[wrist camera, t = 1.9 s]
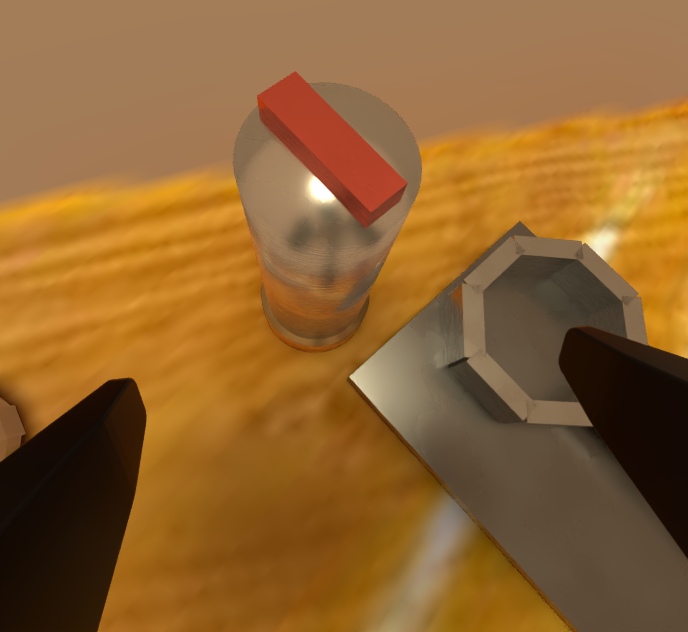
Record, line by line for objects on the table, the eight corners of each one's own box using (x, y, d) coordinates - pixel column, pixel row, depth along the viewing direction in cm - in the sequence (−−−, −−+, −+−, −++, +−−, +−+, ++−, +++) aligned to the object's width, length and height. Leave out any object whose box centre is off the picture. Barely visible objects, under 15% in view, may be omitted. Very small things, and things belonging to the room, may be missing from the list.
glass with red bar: (384, 307, 23) (487, 155, 10) (310, 373, 22) (322, 292, 9) (319, 238, 24) (339, 14, 11) (243, 298, 22) (165, 121, 10)
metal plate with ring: (792, 504, 22) (900, 521, 18) (654, 722, 19) (749, 801, 15) (509, 230, 25) (549, 192, 21) (346, 379, 22) (357, 368, 18)
